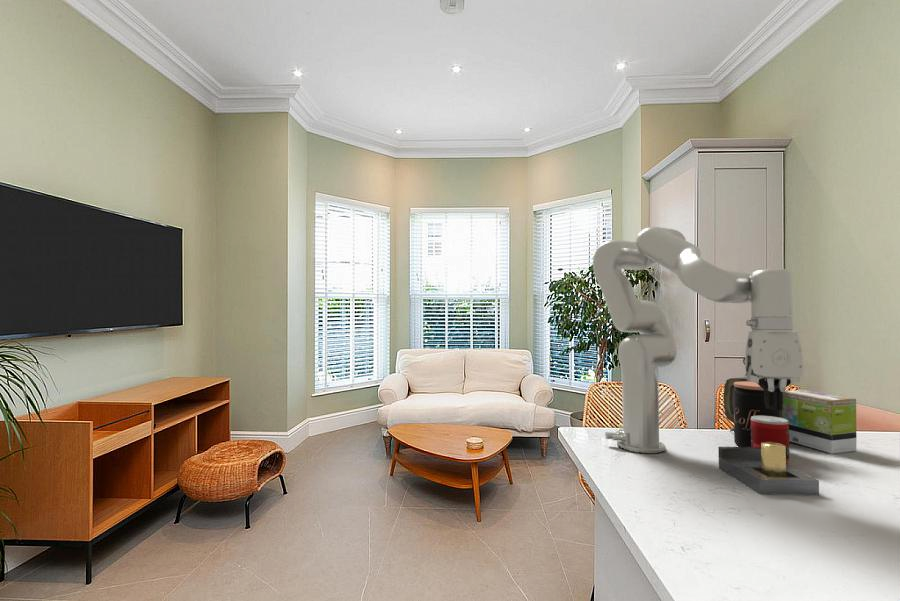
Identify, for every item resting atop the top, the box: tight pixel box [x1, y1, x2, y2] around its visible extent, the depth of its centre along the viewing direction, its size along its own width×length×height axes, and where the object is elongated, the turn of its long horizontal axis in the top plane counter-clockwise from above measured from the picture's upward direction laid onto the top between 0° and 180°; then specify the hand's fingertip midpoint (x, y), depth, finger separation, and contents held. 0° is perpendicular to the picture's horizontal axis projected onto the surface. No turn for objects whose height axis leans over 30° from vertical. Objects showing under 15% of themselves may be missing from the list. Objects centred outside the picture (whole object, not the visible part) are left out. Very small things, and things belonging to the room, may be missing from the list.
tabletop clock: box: [723, 356, 783, 432], centre depth 145 cm, size 14×9×25 cm, turn 28°
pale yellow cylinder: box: [761, 442, 786, 477], centre depth 103 cm, size 4×4×9 cm
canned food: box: [751, 416, 790, 466], centre depth 120 cm, size 8×8×11 cm
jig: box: [717, 446, 820, 496], centre depth 106 cm, size 12×16×5 cm
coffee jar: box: [733, 381, 779, 447], centre depth 132 cm, size 11×11×18 cm
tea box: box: [782, 389, 857, 455], centre depth 135 cm, size 15×10×15 cm
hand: (773, 409), depth 103 cm, fingers closed
